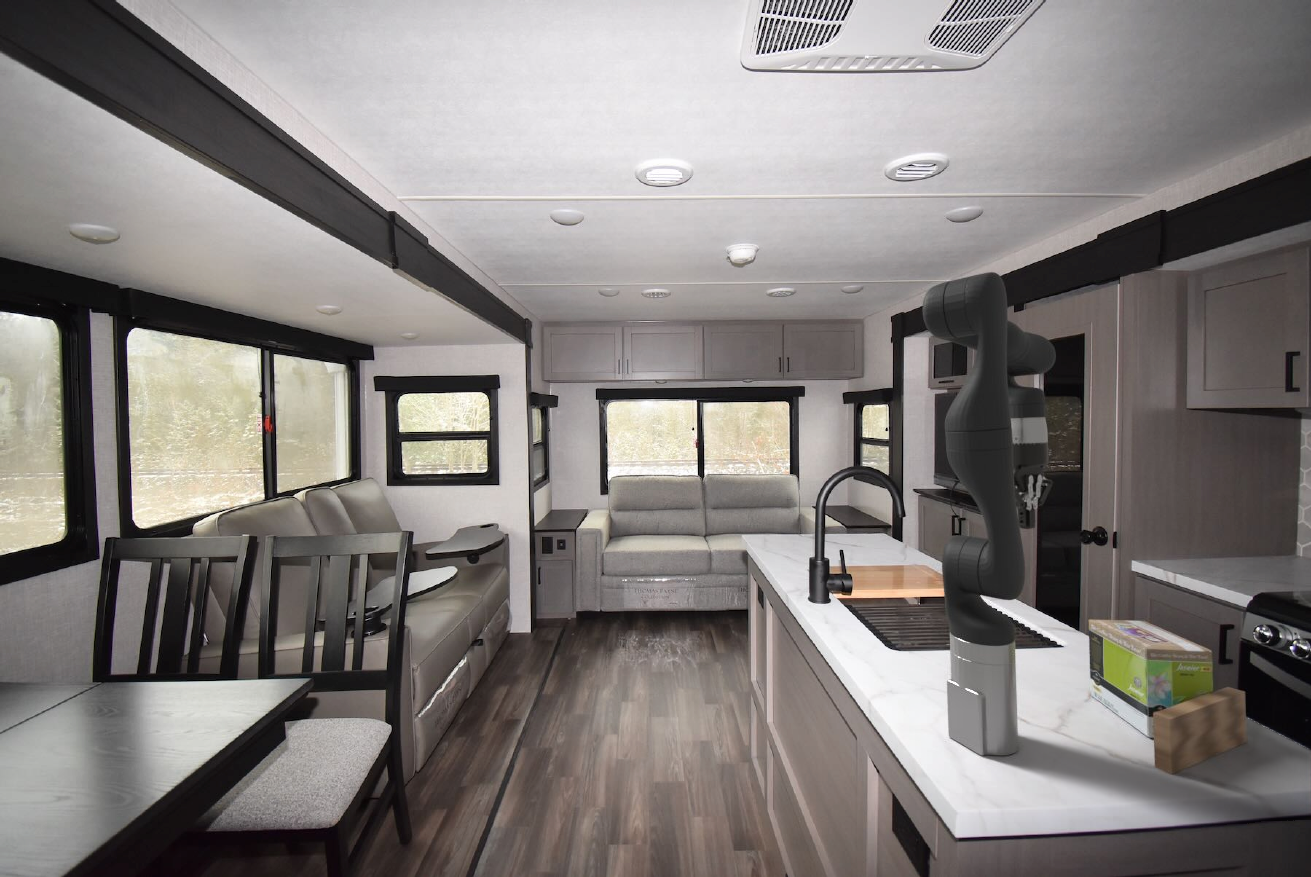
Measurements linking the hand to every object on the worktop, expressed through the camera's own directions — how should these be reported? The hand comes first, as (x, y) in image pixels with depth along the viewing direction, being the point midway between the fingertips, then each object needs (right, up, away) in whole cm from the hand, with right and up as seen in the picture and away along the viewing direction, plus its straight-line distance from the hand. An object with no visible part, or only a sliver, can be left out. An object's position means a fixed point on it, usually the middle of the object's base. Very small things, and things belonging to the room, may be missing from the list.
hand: (1027, 528), depth 108 cm
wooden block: (+10, -31, -24) cm, 40 cm away
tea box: (+12, -31, -13) cm, 36 cm away
